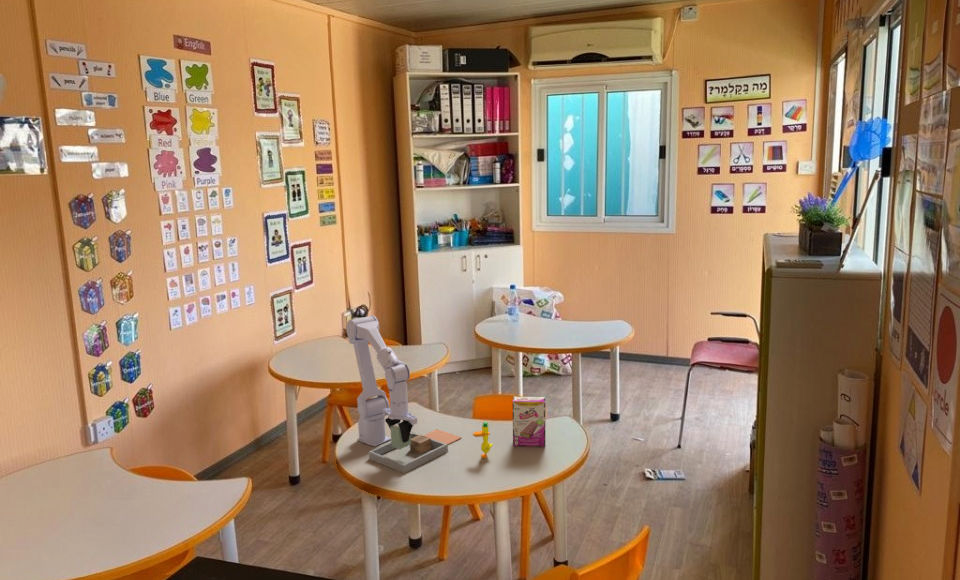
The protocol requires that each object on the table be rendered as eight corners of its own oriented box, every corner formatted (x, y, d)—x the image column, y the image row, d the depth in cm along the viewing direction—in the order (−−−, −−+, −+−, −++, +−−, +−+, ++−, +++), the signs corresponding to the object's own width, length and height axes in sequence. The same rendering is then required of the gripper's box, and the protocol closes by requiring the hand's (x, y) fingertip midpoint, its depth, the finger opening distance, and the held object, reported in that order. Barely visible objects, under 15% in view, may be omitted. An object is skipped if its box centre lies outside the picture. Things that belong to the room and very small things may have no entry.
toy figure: (474, 460, 226) (473, 425, 223) (472, 455, 229) (471, 421, 227) (494, 458, 227) (493, 423, 224) (492, 453, 230) (491, 419, 228)
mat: (419, 438, 244) (419, 437, 244) (436, 430, 251) (436, 429, 251) (443, 447, 236) (443, 445, 236) (461, 438, 243) (461, 437, 243)
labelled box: (391, 446, 228) (390, 425, 226) (402, 441, 231) (401, 420, 230) (399, 449, 225) (398, 428, 224) (411, 444, 229) (410, 423, 227)
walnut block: (410, 450, 235) (409, 439, 234) (420, 445, 239) (420, 434, 238) (420, 454, 232) (420, 443, 231) (431, 449, 236) (430, 438, 235)
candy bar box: (512, 447, 235) (511, 401, 231) (513, 440, 240) (512, 395, 236) (546, 447, 234) (545, 401, 230) (546, 441, 238) (545, 396, 235)
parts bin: (369, 458, 229) (368, 451, 229) (413, 438, 244) (412, 432, 244) (404, 473, 218) (403, 465, 218) (447, 451, 233) (447, 444, 233)
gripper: (374, 399, 227) (377, 438, 229) (405, 409, 217) (407, 449, 220) (390, 393, 232) (393, 431, 235) (421, 402, 223) (423, 442, 225)
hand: (401, 439), depth 228 cm, fingers closed on labelled box, 4 cm apart
